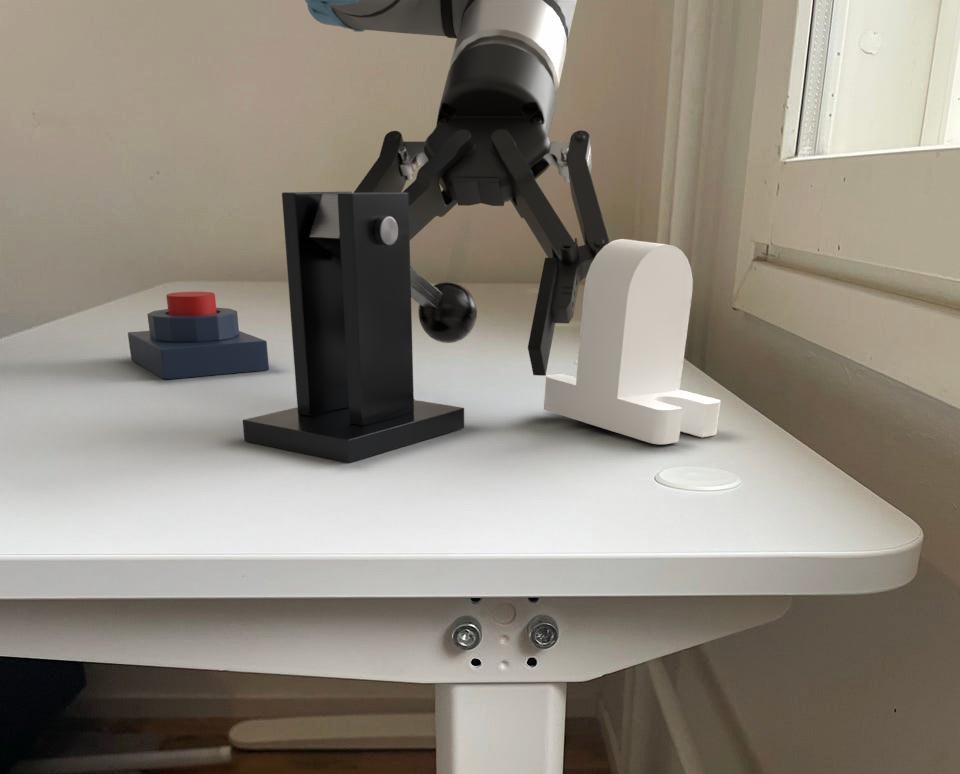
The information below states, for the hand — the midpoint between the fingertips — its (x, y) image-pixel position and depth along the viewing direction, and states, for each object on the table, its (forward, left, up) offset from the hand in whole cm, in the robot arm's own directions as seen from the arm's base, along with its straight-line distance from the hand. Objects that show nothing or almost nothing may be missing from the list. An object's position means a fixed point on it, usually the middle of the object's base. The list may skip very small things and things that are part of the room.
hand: (441, 357), depth 62 cm
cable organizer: (+10, +5, -4) cm, 12 cm away
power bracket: (-1, -7, -4) cm, 8 cm away
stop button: (-27, +3, 0) cm, 27 cm away
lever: (-1, -3, +3) cm, 5 cm away
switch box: (-27, +3, -4) cm, 27 cm away
